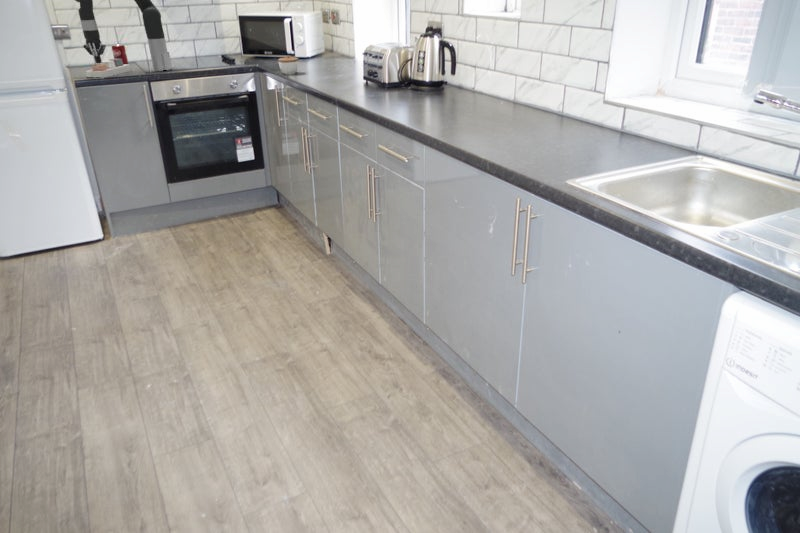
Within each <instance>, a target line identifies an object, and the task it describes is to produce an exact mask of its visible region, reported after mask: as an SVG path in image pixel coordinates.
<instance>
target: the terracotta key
mask: <svg viewBox="0 0 800 533" xmlns="http://www.w3.org/2000/svg"><path fill="white" fill-rule="evenodd" d="M91 68H92V69H91V70H93V71H103V70H107V67H106V65H101V64H96V65H92V66H91Z"/></svg>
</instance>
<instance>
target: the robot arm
mask: <svg viewBox="0 0 800 533" xmlns="http://www.w3.org/2000/svg"><path fill="white" fill-rule="evenodd" d="M74 1H75V2H77V3H79V9H78V15H79V19H80V24H81V29H82V33H83V36H84V37H83V38H84V39H85V44H84V45H83V46H82V47H83V48H84V50H86V52H87V53H88V54H89V55H90V56H93V57H94V62H95V63H96V64H100V63H101V62H102V58H101V56H102V55H104V52H105V49H106V48H107V46H106V44H103V43H102V41H101V36H100V32H99V29H98V28H99V27H98V24H97V21H96V18H95V12H94V2H93V0H74ZM133 1H134V2H135V4H136V5H137V7H138V9H139V10H140V12H141V13H142V22H143V25H144V26H143V27H144V30H145V34H146V38H147V43H148V44H147V45H148V47H149V53H150V58H151V63H152V67H153V69H152V70H153V71H154V70H155V71H154V72H164V71H163V70H167V71H171V70H173V66H172V61H171V56H170V52H169V51H168V47H167V43H166V38H165V36H166V35H165V32H164V29H163V25H162V24H163V22H162V14H161V11H160V10H159V9H158V8H157V7H156V6H155V4H154V3H153V2H152V1H151V0H133Z"/></svg>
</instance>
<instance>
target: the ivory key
mask: <svg viewBox="0 0 800 533" xmlns="http://www.w3.org/2000/svg"><path fill="white" fill-rule="evenodd" d="M99 65H106V67H107V69H111V68H115V64H114V61H109V59H108V60H103V61H102V60H101V63H99Z"/></svg>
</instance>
